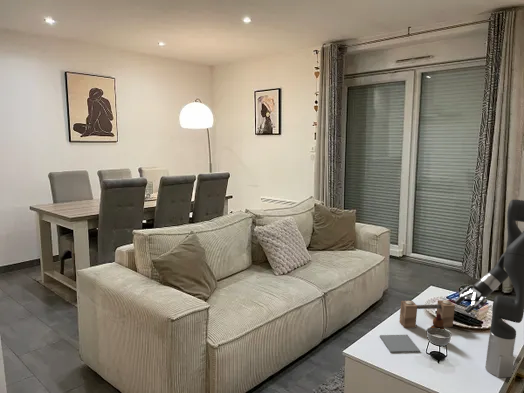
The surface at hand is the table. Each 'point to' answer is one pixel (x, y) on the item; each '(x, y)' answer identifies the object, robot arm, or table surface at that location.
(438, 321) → the wooden figurine
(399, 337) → the slate mat
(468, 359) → the table surface
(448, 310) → the handrail
